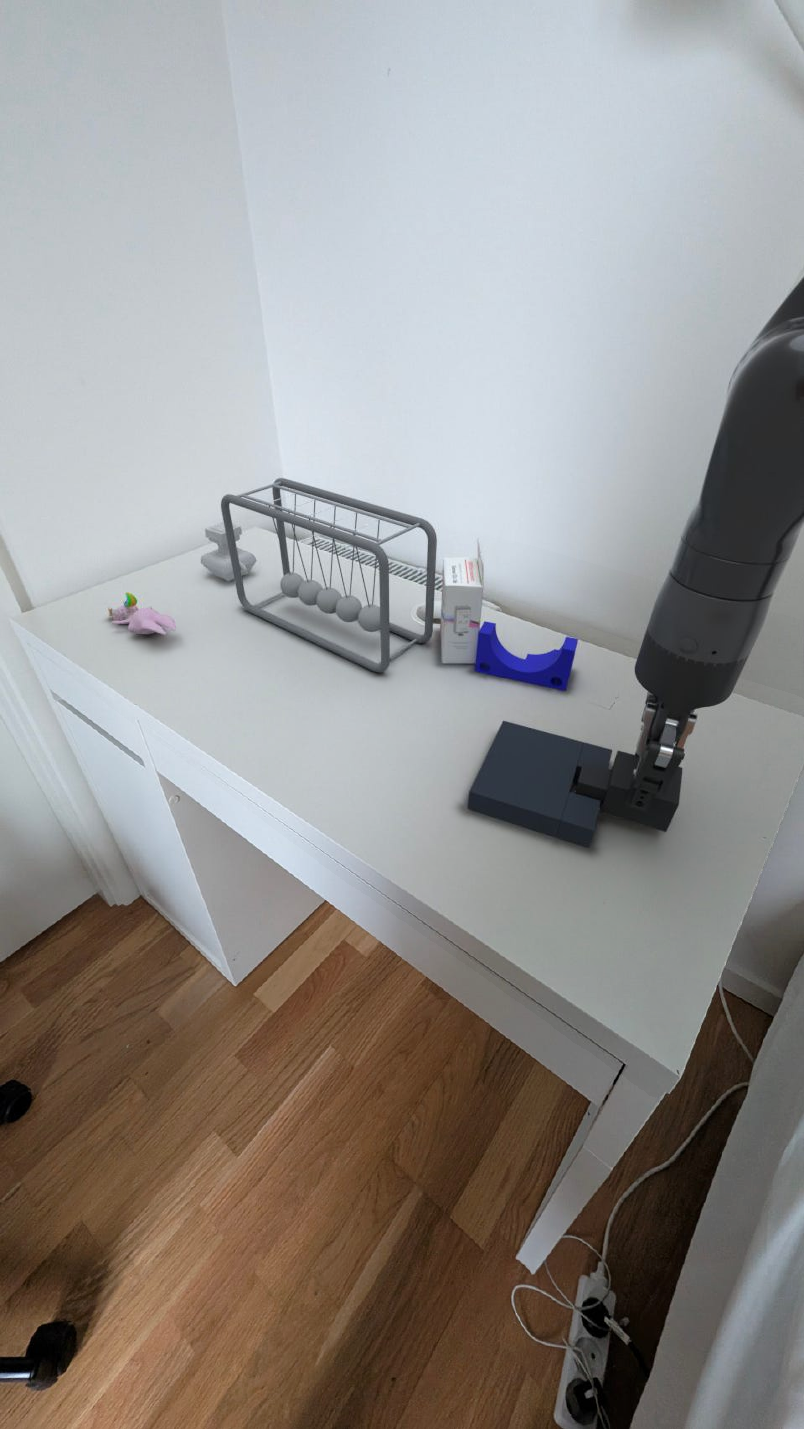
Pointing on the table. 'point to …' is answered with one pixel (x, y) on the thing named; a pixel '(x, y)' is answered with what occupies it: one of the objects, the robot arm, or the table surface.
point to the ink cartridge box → (461, 608)
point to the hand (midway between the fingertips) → (640, 785)
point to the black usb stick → (614, 789)
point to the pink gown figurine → (141, 618)
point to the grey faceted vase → (225, 553)
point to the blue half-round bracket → (524, 661)
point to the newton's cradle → (329, 597)
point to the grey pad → (538, 782)
